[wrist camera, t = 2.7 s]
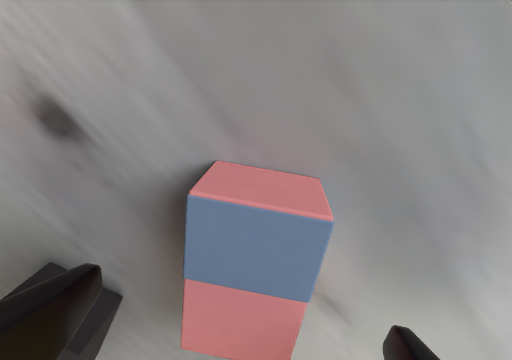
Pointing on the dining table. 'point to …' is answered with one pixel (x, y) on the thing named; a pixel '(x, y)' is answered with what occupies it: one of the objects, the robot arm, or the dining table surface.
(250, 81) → the dining table surface
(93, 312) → the grey eraser
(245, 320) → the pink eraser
